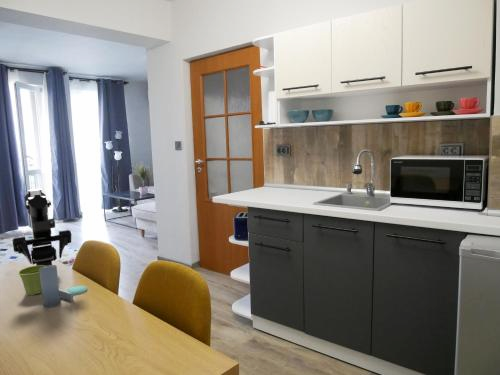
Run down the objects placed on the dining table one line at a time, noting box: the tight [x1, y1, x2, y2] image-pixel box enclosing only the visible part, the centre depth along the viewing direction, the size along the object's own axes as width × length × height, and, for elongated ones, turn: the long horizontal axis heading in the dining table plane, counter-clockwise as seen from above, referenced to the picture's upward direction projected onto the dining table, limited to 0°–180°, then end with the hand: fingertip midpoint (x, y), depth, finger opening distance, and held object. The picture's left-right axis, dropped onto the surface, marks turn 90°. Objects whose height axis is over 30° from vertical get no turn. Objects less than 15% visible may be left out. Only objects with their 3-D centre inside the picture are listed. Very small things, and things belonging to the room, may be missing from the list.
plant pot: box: [17, 265, 45, 296], centre depth 139 cm, size 9×9×9 cm
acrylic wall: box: [59, 288, 75, 302], centre depth 134 cm, size 12×1×2 cm, turn 56°
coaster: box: [64, 285, 88, 296], centre depth 139 cm, size 8×8×1 cm
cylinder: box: [39, 264, 62, 308], centre depth 128 cm, size 5×5×13 cm
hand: (46, 260), depth 134 cm, fingers open, 9 cm apart
